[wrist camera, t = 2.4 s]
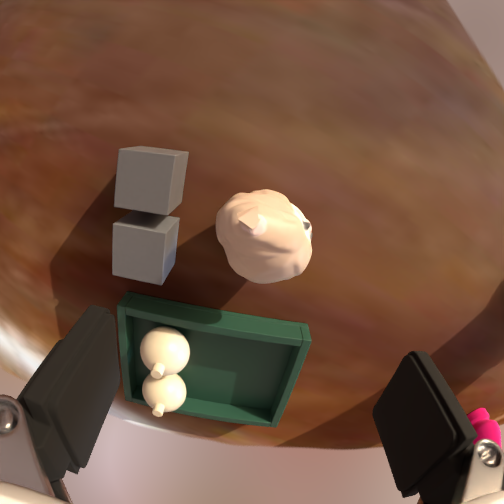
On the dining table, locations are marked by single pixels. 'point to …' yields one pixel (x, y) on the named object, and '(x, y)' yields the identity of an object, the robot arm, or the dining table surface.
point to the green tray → (217, 358)
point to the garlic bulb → (264, 236)
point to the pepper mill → (484, 426)
